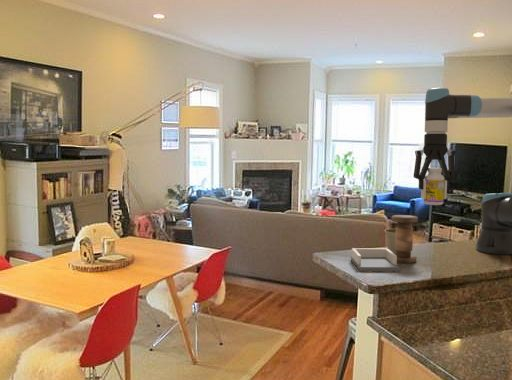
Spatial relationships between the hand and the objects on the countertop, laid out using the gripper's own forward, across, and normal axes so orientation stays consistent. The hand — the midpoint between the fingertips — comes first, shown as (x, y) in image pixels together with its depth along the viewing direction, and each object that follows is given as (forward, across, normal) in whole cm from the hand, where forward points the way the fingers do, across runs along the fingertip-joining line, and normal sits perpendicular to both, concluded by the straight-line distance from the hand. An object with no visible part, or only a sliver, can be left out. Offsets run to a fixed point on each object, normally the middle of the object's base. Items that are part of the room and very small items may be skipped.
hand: (433, 198), depth 171 cm
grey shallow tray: (+23, +22, +5) cm, 32 cm away
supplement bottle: (+2, 0, 0) cm, 2 cm away
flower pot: (+23, +8, -16) cm, 29 cm away
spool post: (+23, +9, -3) cm, 25 cm away
